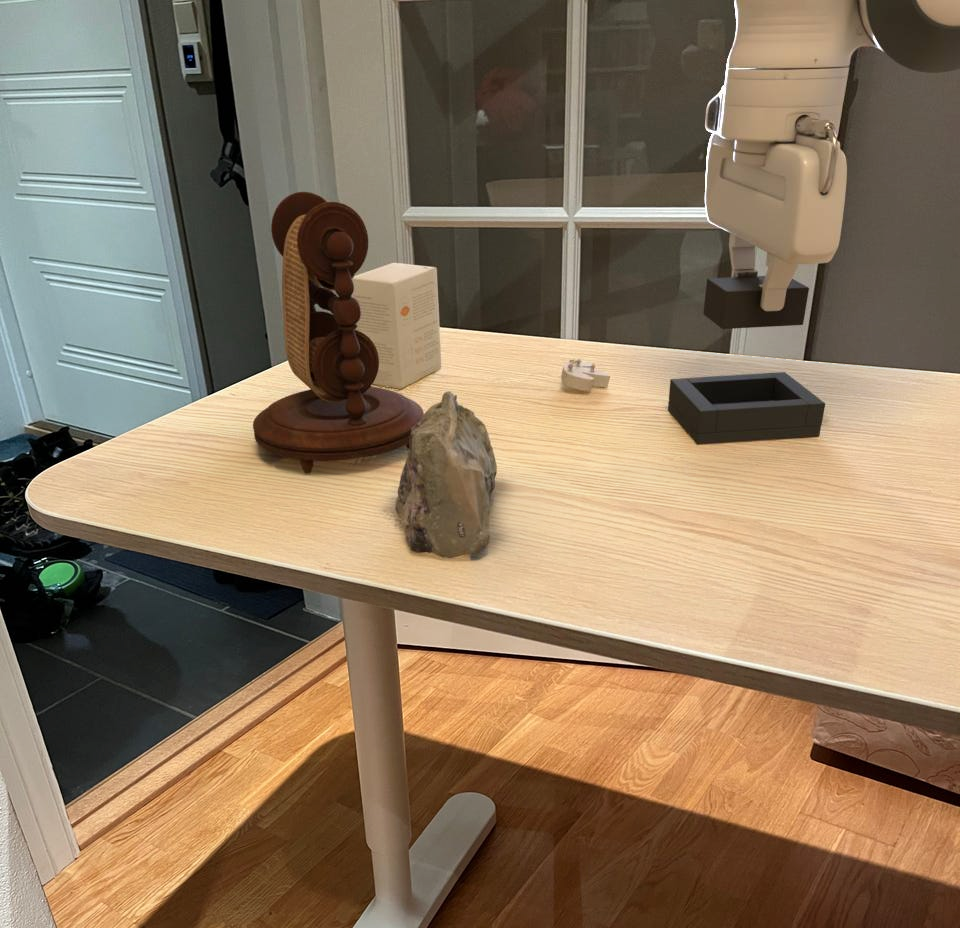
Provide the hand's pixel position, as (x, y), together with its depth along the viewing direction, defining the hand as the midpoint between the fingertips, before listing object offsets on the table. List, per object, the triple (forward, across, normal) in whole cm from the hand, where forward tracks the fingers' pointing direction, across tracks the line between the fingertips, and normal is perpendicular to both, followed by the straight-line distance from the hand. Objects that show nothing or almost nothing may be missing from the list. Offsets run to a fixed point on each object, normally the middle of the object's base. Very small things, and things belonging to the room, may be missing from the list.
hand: (755, 299), depth 79 cm
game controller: (+11, +14, +15) cm, 23 cm away
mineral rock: (+11, -16, +27) cm, 33 cm away
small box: (+11, +20, +30) cm, 38 cm away
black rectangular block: (+2, 0, 0) cm, 2 cm away
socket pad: (+11, 0, 0) cm, 11 cm away
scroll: (+11, +1, +36) cm, 38 cm away
